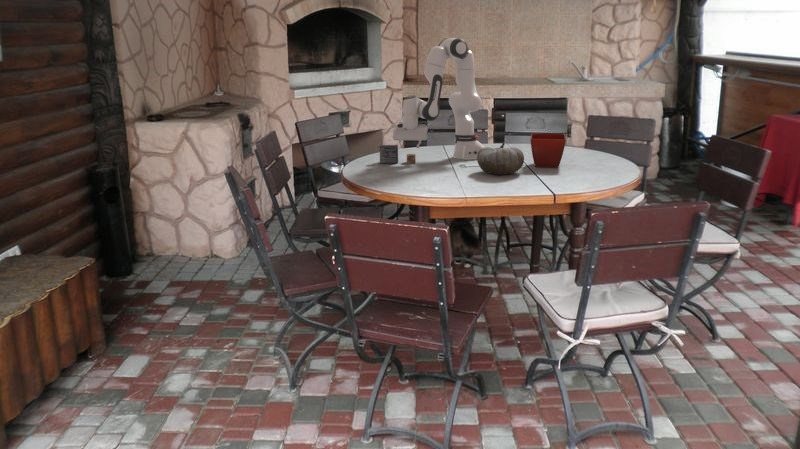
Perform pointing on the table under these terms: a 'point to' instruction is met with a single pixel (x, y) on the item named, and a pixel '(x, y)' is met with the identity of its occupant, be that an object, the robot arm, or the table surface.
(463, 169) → the table surface
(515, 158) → the gourd
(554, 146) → the plant pot
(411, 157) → the walnut cube
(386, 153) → the small box
